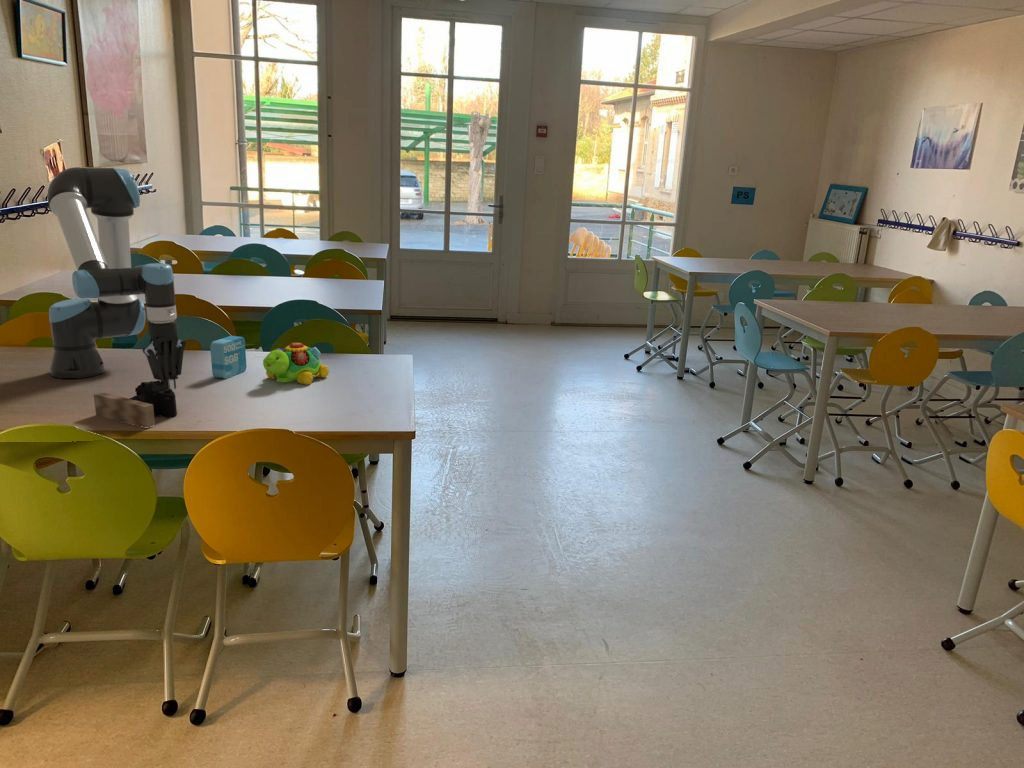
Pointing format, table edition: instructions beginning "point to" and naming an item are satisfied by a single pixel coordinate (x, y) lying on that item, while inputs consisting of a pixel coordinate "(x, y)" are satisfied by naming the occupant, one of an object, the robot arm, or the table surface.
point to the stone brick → (124, 409)
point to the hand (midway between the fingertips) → (170, 401)
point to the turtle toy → (295, 364)
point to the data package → (228, 356)
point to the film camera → (157, 398)
